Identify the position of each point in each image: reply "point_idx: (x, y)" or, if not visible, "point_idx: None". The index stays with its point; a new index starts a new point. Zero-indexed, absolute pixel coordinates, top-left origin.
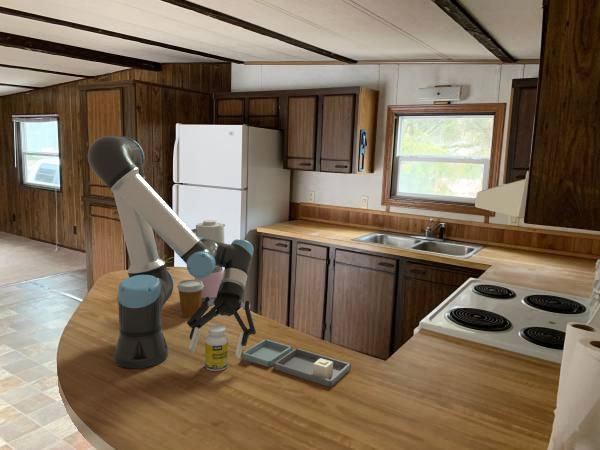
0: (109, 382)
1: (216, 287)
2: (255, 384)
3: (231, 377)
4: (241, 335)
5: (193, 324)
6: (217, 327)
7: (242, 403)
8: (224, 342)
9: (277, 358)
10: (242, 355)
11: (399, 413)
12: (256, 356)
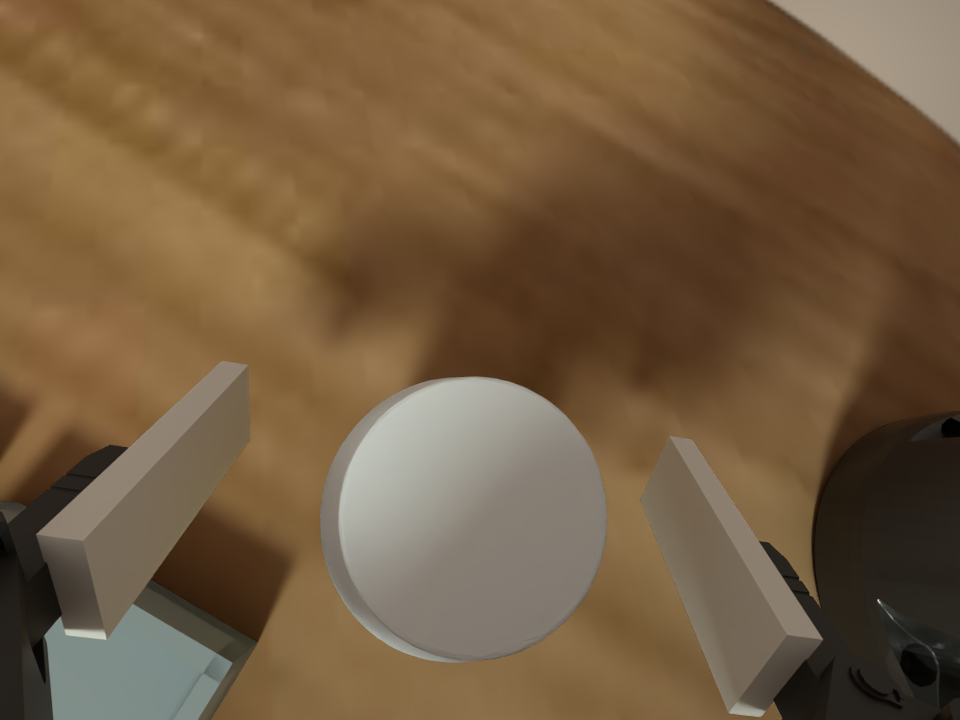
0: (925, 279)
1: None
2: (149, 293)
3: (316, 368)
4: (92, 500)
5: (890, 686)
6: (476, 542)
7: (232, 116)
8: (354, 428)
9: None
10: (230, 650)
11: None
12: None
